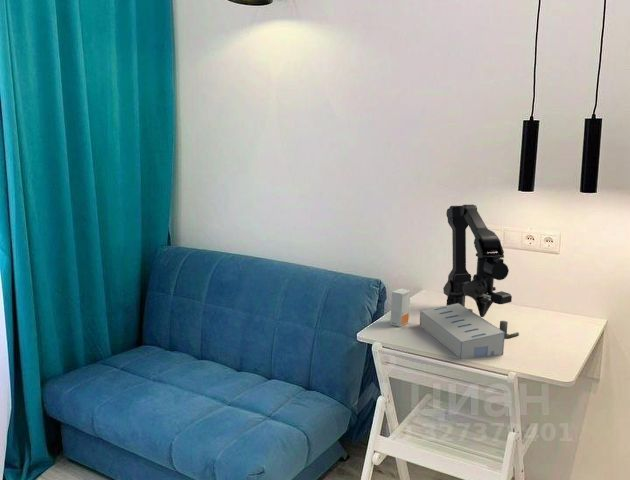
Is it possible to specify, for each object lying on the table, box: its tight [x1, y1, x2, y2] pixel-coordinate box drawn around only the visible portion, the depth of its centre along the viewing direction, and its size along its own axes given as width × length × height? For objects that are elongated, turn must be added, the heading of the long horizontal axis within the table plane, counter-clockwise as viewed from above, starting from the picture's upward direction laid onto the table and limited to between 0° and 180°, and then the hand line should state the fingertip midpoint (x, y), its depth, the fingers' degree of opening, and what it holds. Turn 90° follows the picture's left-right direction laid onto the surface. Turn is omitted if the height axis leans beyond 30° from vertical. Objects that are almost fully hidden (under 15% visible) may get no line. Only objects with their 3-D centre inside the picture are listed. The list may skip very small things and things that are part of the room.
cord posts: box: [468, 308, 520, 339], centre depth 208 cm, size 8×24×5 cm, turn 34°
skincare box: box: [390, 287, 411, 328], centre depth 209 cm, size 6×4×12 cm
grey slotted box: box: [419, 303, 505, 359], centre depth 196 cm, size 30×14×8 cm, turn 14°
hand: (482, 316), depth 203 cm, fingers closed
